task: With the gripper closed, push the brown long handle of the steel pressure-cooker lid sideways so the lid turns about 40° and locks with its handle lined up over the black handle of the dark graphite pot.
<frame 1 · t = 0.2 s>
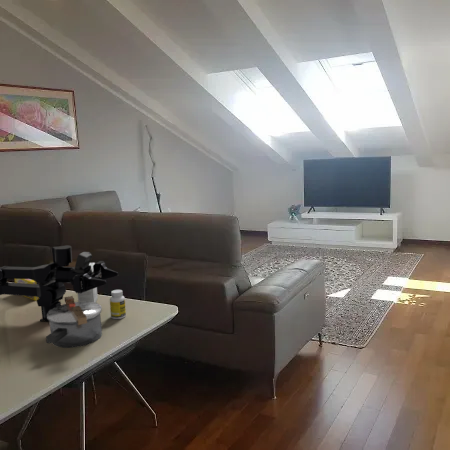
hand: (112, 278, 164), 16 cm above the table, tool horizontal, fingers open, 9 cm apart
cooker pot: (77, 337, 155), on the table
skincare box: (88, 303, 189), on the table
candy box: (27, 297, 199), on the table
lid: (75, 310, 152), point 10 cm above the table, hinge at 40.0°
supplement bottle: (118, 317, 172), on the table
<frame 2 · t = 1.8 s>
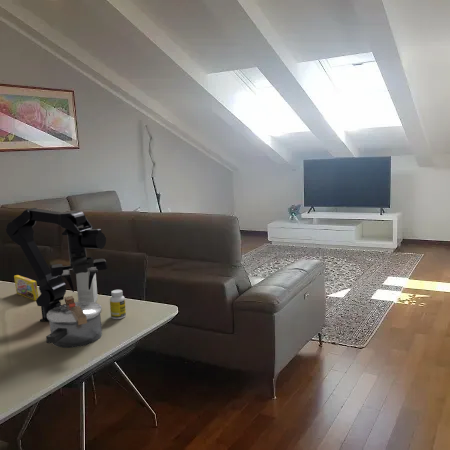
hand: (81, 290, 165), 12 cm above the table, tool pointing down, fingers open, 5 cm apart
nothing on the table moved.
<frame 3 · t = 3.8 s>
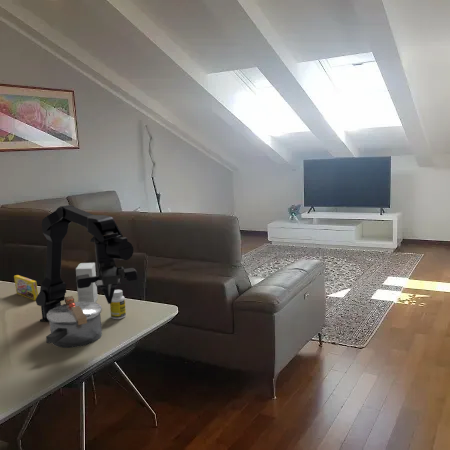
hand: (109, 303, 151), 12 cm above the table, tool pointing down, fingers closed
nothing on the table moved.
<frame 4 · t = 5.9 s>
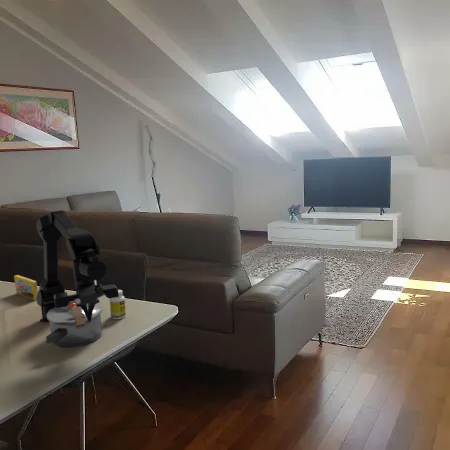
hand: (89, 321, 145), 9 cm above the table, tool pointing down, fingers closed
lid: (75, 310, 152), point 10 cm above the table, hinge at 37.8°, touching gripper
everything else where it was.
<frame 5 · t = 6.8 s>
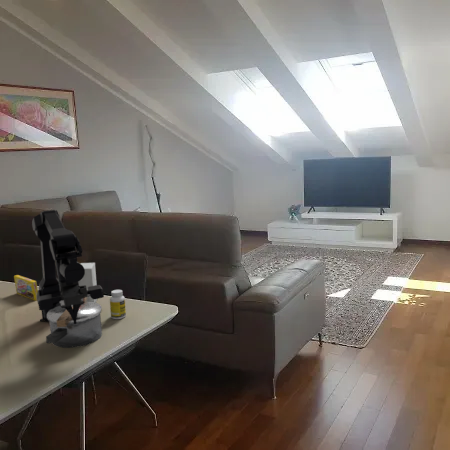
hand: (75, 323, 144), 9 cm above the table, tool pointing down, fingers closed
lid: (73, 310, 152), point 10 cm above the table, hinge at 13.7°, touching gripper
everything else where it was.
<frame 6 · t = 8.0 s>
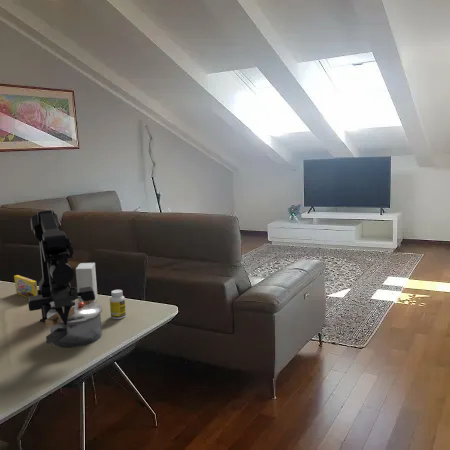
hand: (65, 324, 143), 9 cm above the table, tool pointing down, fingers closed
lid: (72, 310, 152), point 10 cm above the table, hinge at -2.3°, touching gripper
everything else where it was.
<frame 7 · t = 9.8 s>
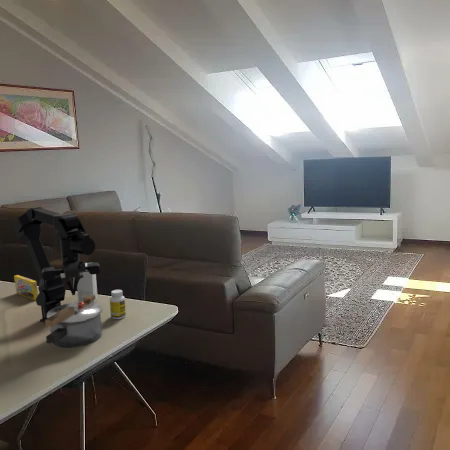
hand: (73, 294, 162), 12 cm above the table, tool pointing down, fingers closed
lid: (72, 310, 152), point 10 cm above the table, hinge at -2.4°
everything else where it was.
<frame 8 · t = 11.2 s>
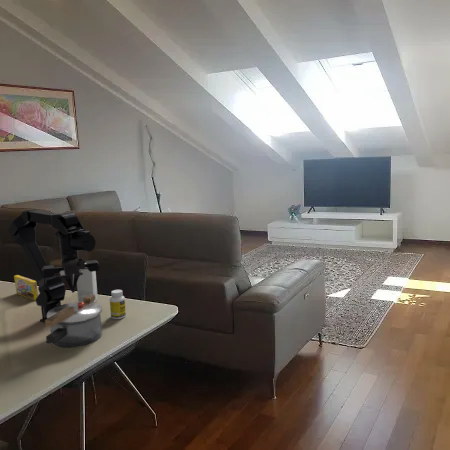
hand: (73, 292, 164), 12 cm above the table, tool pointing down, fingers closed
nothing on the table moved.
at the end: lid at -2° (first picture: +40°); supplement bottle moved 0.2 cm from its start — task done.
